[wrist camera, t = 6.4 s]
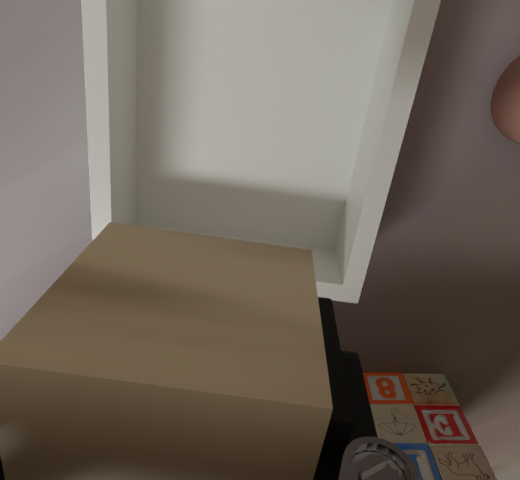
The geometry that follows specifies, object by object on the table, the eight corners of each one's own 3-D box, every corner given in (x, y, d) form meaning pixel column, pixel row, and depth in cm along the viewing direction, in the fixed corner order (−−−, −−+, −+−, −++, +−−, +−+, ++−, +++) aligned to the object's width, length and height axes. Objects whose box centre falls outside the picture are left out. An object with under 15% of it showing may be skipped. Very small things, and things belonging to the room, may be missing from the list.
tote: (345, 258, 27) (358, 303, 23) (124, 228, 27) (93, 267, 23) (430, -90, 19) (475, -127, 15) (121, -136, 19) (72, -188, 15)
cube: (280, 398, 13) (280, 596, 8) (113, 375, 13) (21, 562, 8) (311, 249, 11) (332, 409, 6) (110, 222, 11) (-19, 362, 6)
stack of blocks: (165, 429, 35) (110, 614, 24) (154, 370, 32) (86, 546, 21) (435, 432, 34) (510, 629, 23) (446, 370, 31) (538, 559, 20)
